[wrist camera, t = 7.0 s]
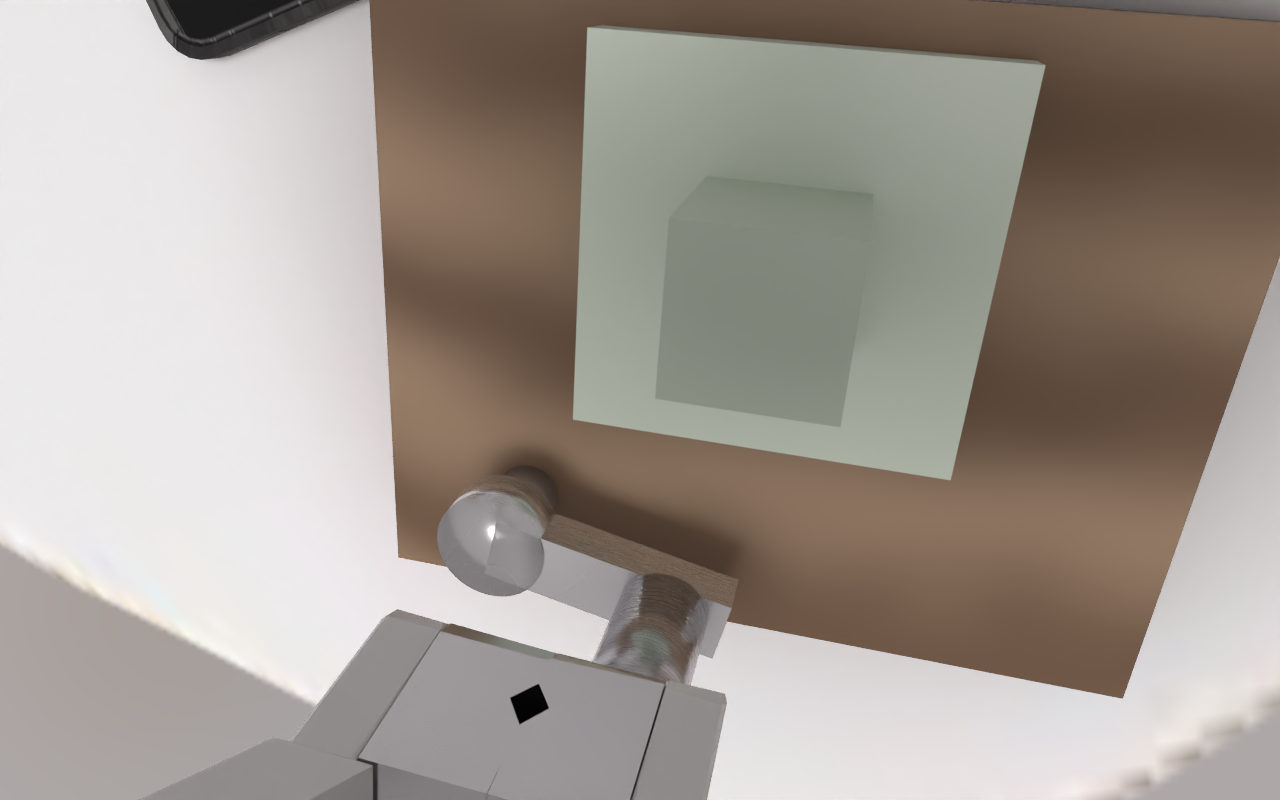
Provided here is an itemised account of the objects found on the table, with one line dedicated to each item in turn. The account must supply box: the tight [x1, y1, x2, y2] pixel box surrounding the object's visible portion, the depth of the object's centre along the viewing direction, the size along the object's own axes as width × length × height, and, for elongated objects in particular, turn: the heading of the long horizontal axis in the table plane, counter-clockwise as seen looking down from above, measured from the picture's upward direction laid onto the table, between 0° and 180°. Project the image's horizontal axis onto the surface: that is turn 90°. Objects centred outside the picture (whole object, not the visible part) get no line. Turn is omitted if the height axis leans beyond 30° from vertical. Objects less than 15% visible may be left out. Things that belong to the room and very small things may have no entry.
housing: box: [370, 0, 1280, 698], centre depth 23 cm, size 16×20×4 cm
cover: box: [573, 25, 1046, 480], centre depth 19 cm, size 9×9×5 cm
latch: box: [437, 475, 738, 685], centre depth 22 cm, size 7×3×6 cm, turn 75°
